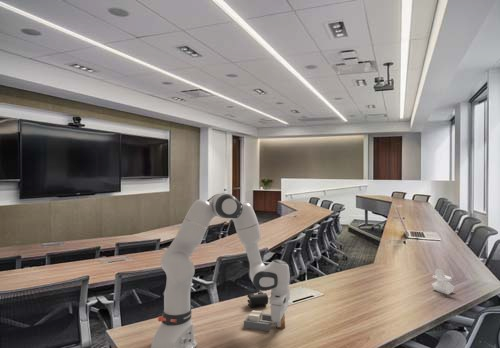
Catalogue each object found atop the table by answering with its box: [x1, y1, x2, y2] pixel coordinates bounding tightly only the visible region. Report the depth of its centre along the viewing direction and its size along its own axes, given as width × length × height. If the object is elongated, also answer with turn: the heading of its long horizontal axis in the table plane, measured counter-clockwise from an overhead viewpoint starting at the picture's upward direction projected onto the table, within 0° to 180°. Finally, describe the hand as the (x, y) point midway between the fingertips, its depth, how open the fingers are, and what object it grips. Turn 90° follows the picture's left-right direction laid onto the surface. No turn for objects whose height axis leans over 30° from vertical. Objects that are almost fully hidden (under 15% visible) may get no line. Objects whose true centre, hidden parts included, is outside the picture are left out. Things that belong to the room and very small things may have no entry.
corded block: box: [248, 310, 286, 330], centre depth 159 cm, size 6×17×5 cm, turn 72°
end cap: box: [246, 291, 269, 309], centre depth 183 cm, size 10×7×7 cm
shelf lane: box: [243, 312, 272, 332], centre depth 160 cm, size 11×12×3 cm
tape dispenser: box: [431, 268, 456, 295], centre depth 204 cm, size 8×14×14 cm, turn 21°
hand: (280, 323), depth 157 cm, fingers closed on corded block, 4 cm apart
